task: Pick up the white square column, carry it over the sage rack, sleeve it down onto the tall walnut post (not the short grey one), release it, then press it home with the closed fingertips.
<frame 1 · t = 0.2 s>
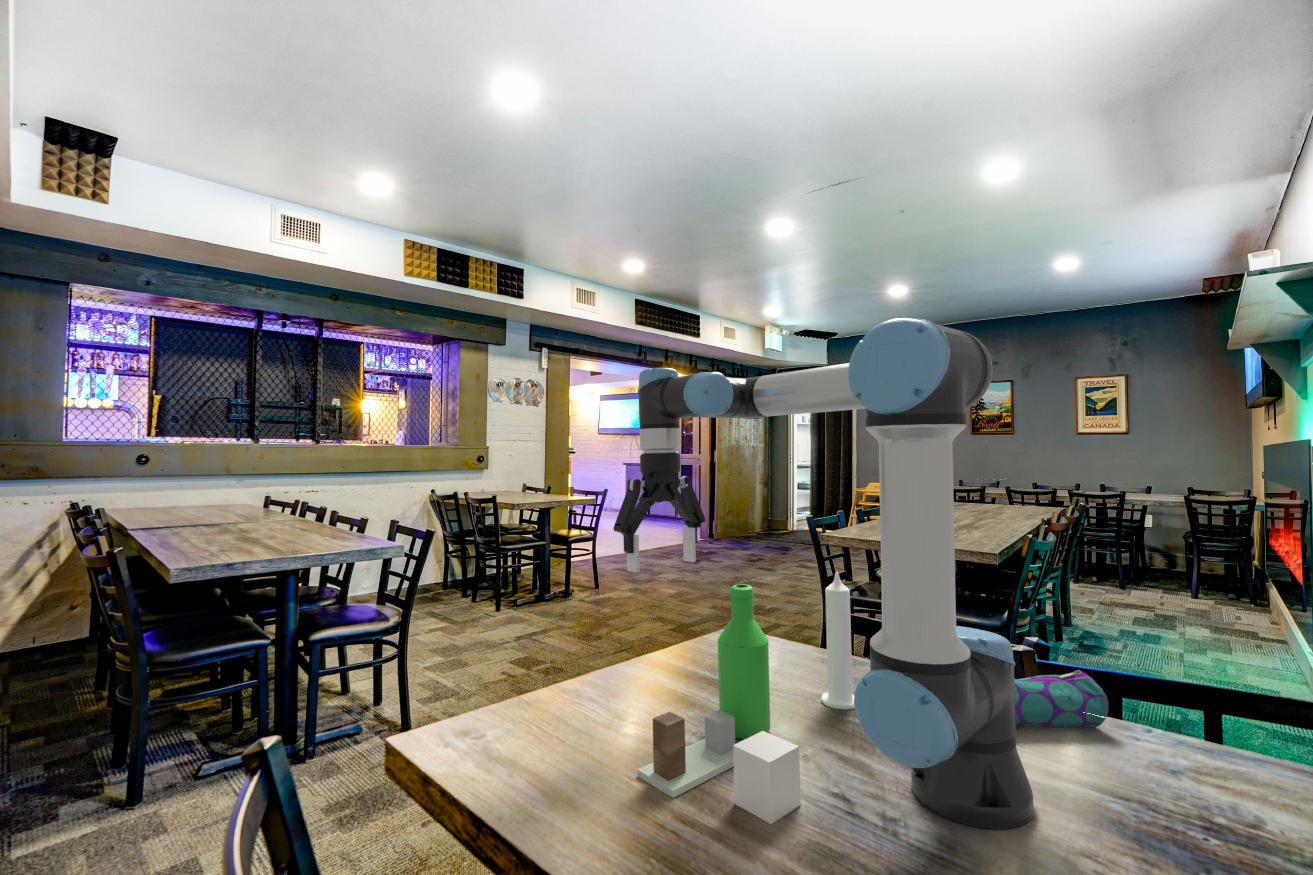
hand: (662, 566, 114), 28 cm above the table, fingers open, 13 cm apart
white square column: (767, 804, 84), on the table
bottle: (745, 730, 107), on the table
candle: (840, 703, 118), on the table
pencil case: (1032, 725, 107), on the table
tall post: (669, 778, 91), resting on rack
rack: (696, 765, 95), on the table
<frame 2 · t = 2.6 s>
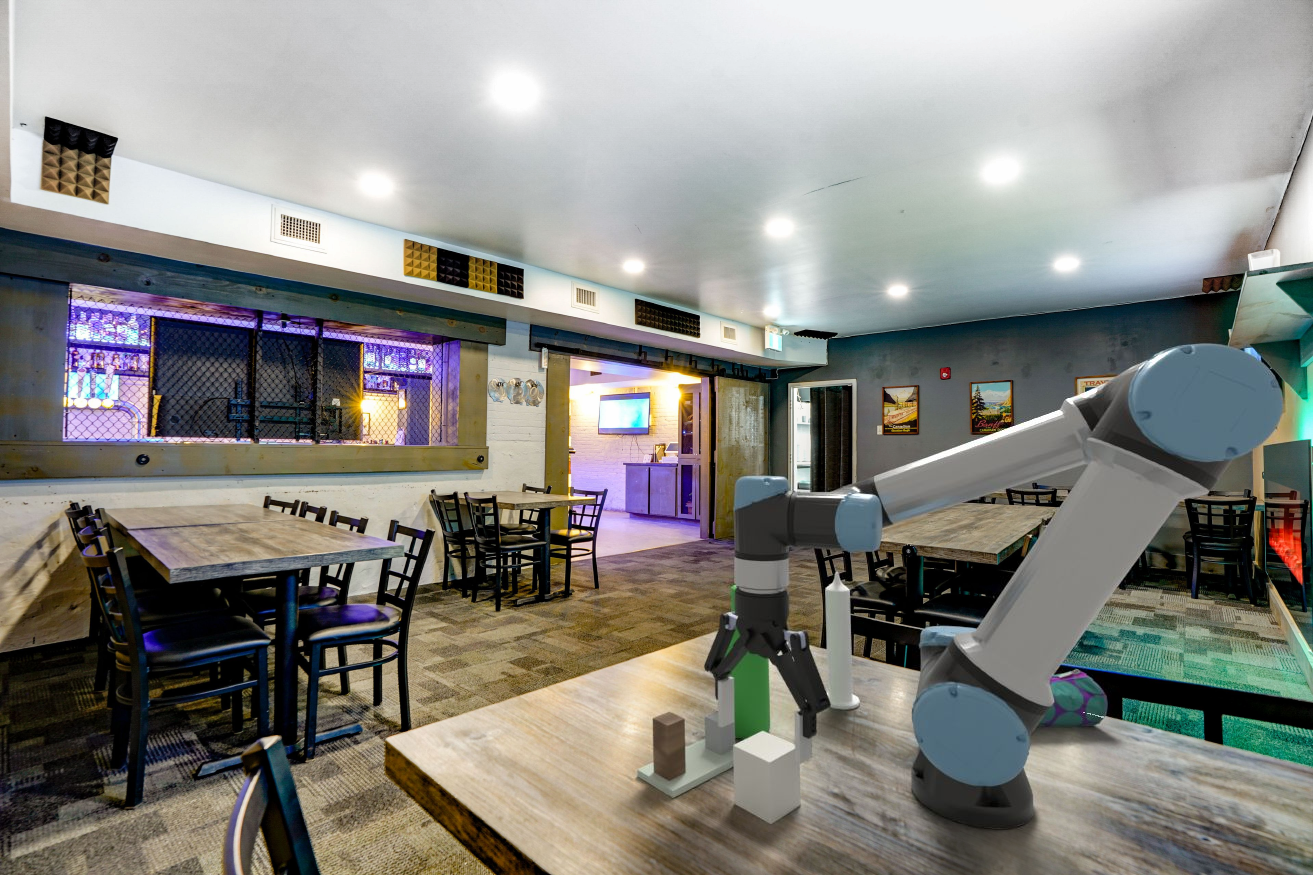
hand: (762, 740, 85), 9 cm above the table, fingers open, 13 cm apart
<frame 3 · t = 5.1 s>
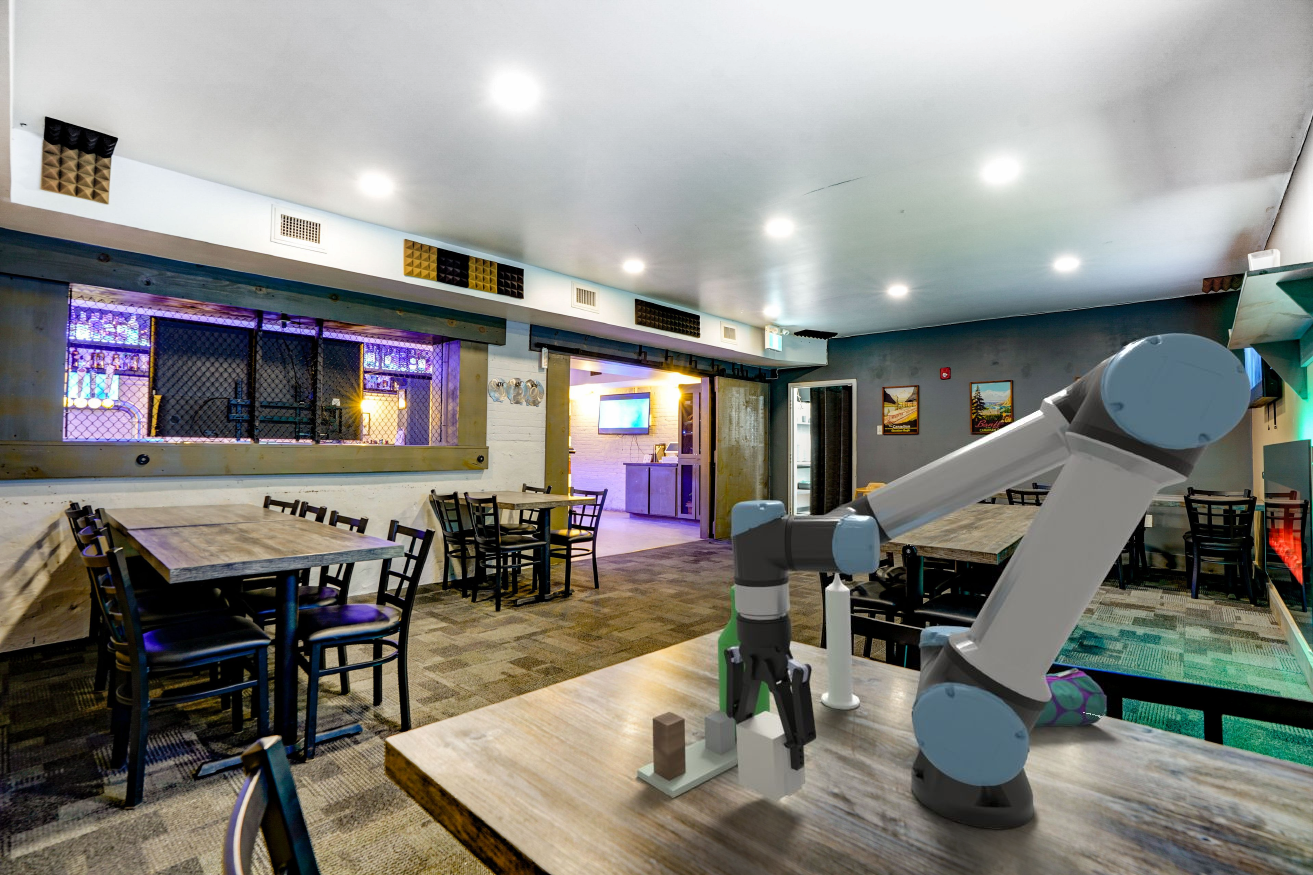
hand: (772, 781, 84), 3 cm above the table, fingers closed on white square column, 6 cm apart
white square column: (772, 783, 84), point 3 cm above the table, touching gripper
everything else where it was.
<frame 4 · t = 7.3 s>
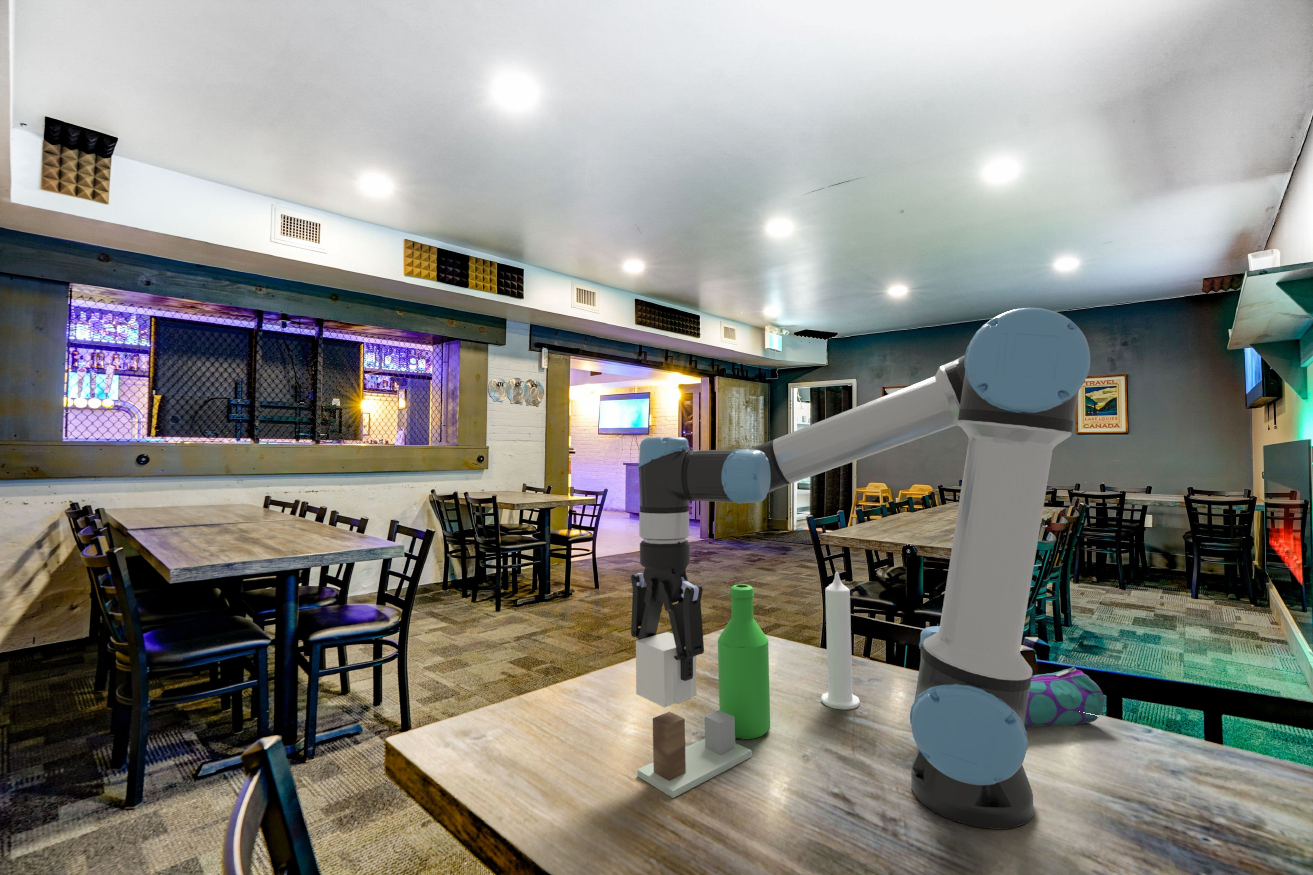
hand: (666, 693, 92), 13 cm above the table, fingers closed on white square column, 6 cm apart
white square column: (666, 694, 92), point 12 cm above the table, touching gripper
when the fingers open (2 cm above the table, at t = 9.3 s): white square column stays where it is, resting on tall post.
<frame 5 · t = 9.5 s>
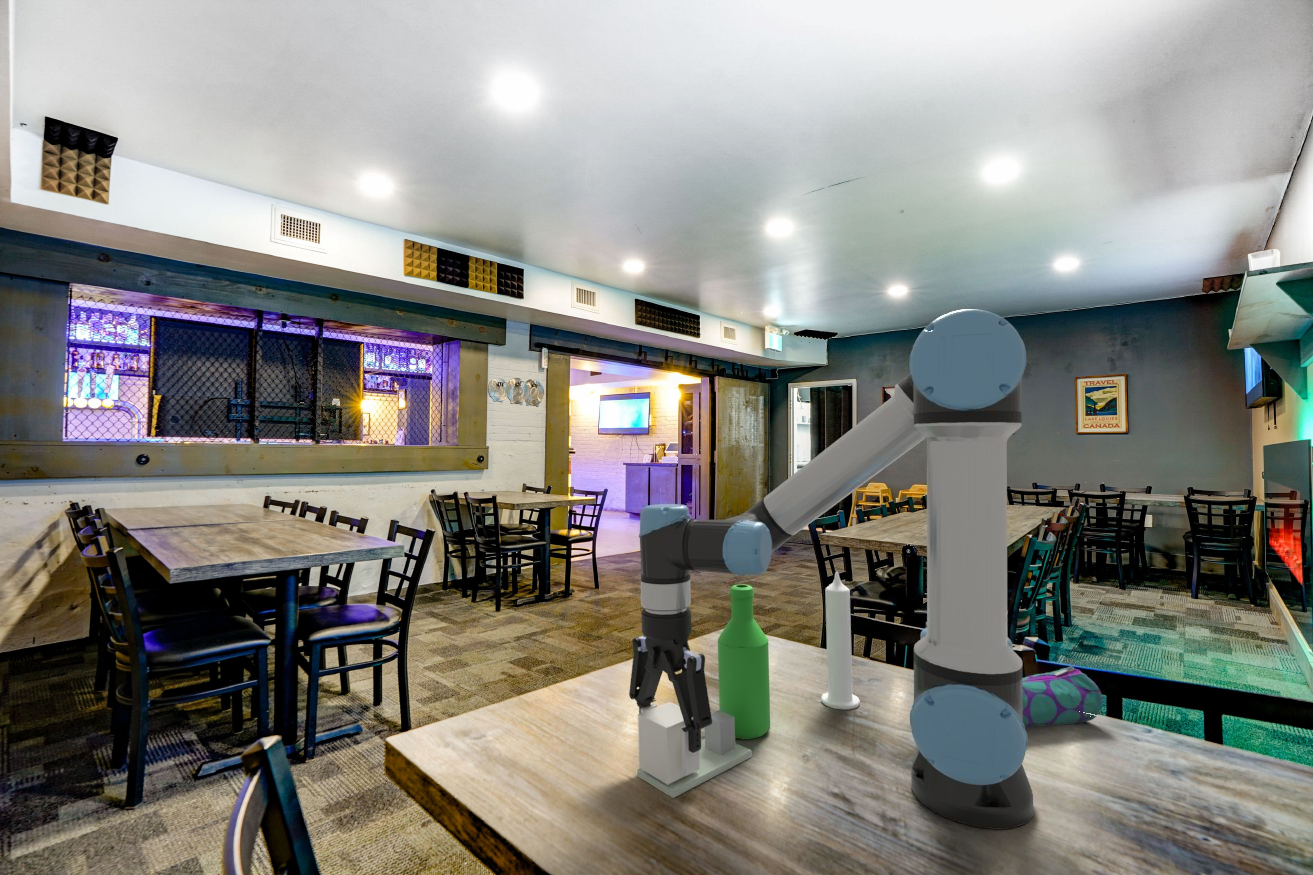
hand: (669, 759, 91), 3 cm above the table, fingers open, 8 cm apart
white square column: (669, 768, 92), point 2 cm above the table, touching tall post
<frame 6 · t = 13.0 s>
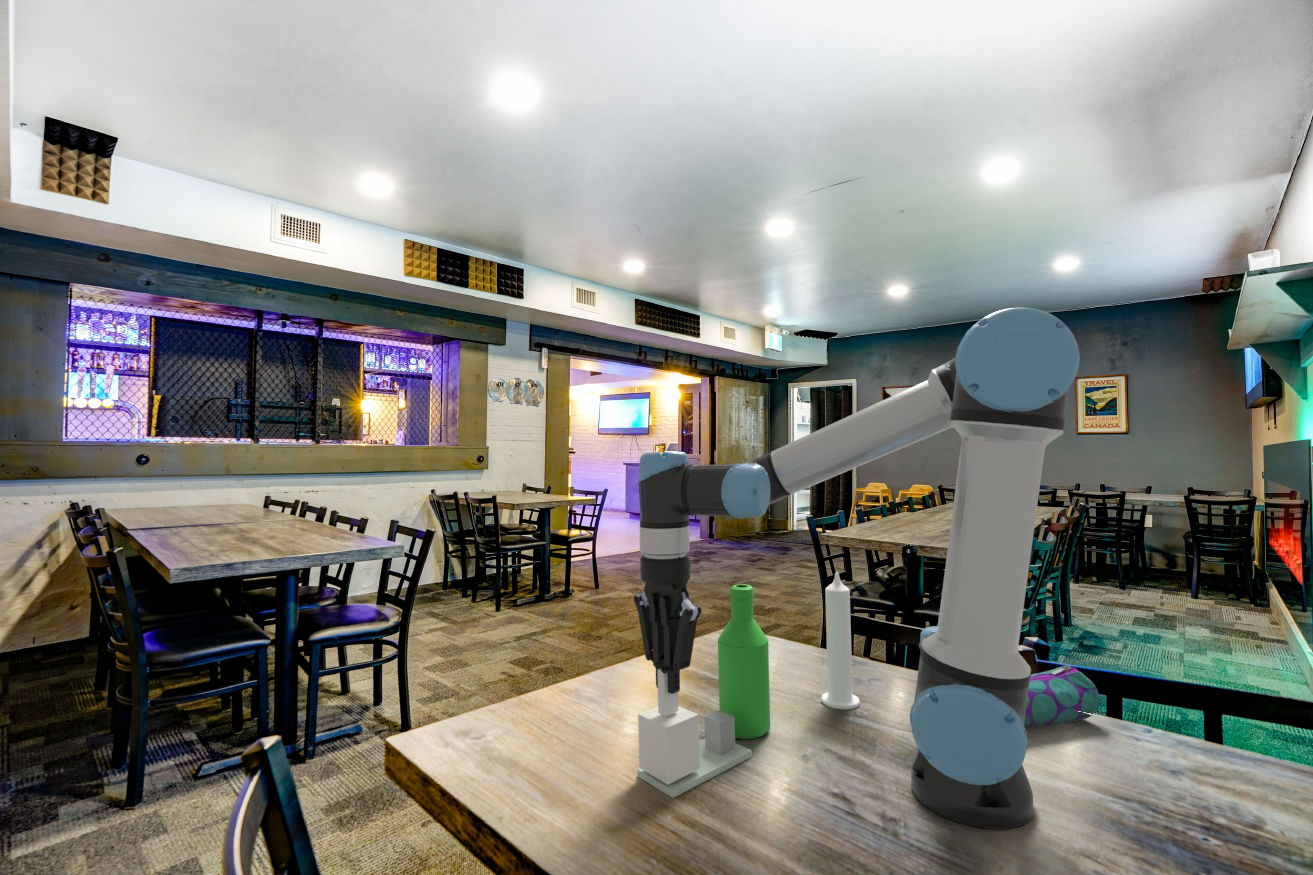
hand: (668, 711, 92), 10 cm above the table, fingers closed
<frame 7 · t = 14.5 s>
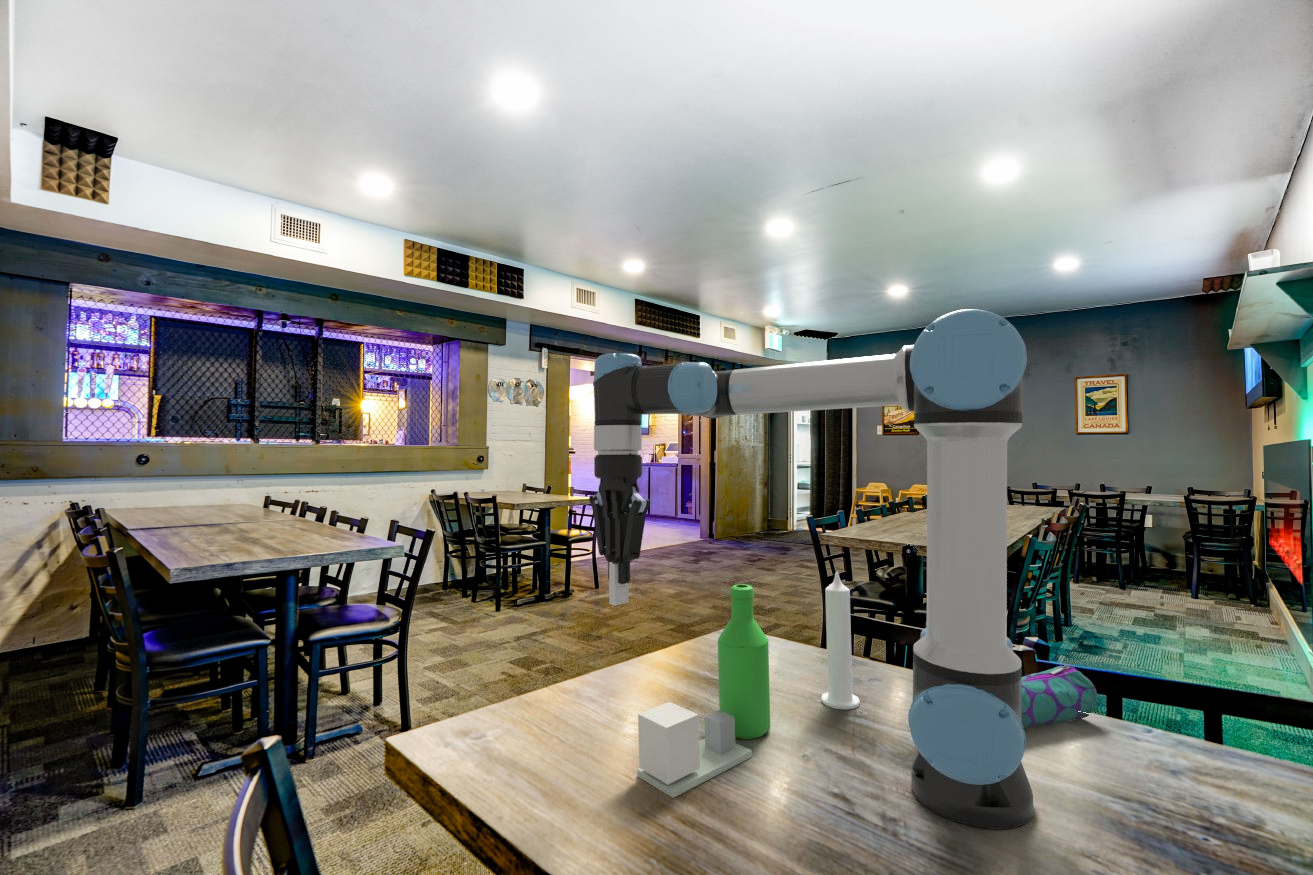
hand: (619, 602, 96), 25 cm above the table, fingers closed
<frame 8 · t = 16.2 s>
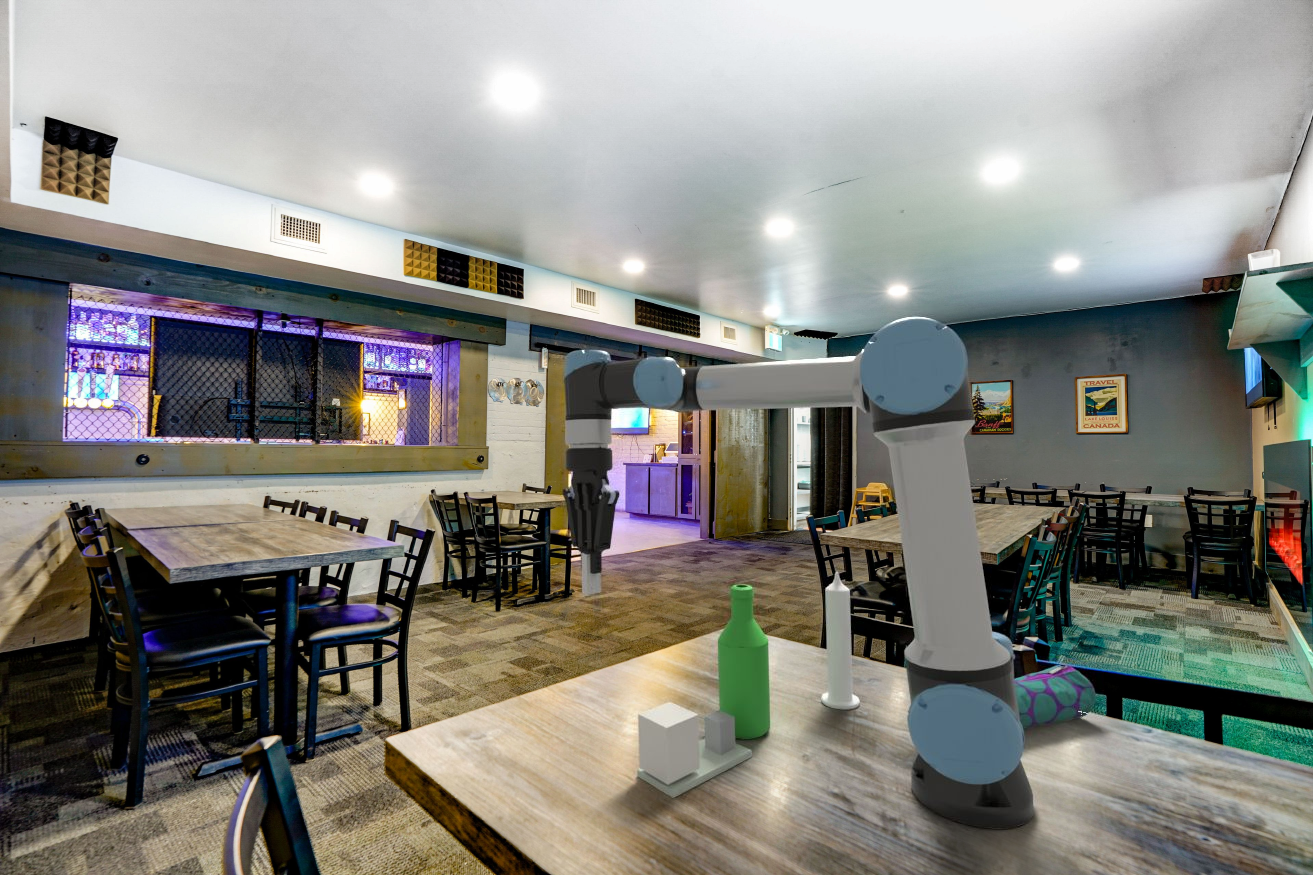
hand: (591, 592, 99), 26 cm above the table, fingers closed
at the end: white square column 0.1 cm from the tall post (horizontally); white square column point 1.6 cm above the table; the gripper is holding nothing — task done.
